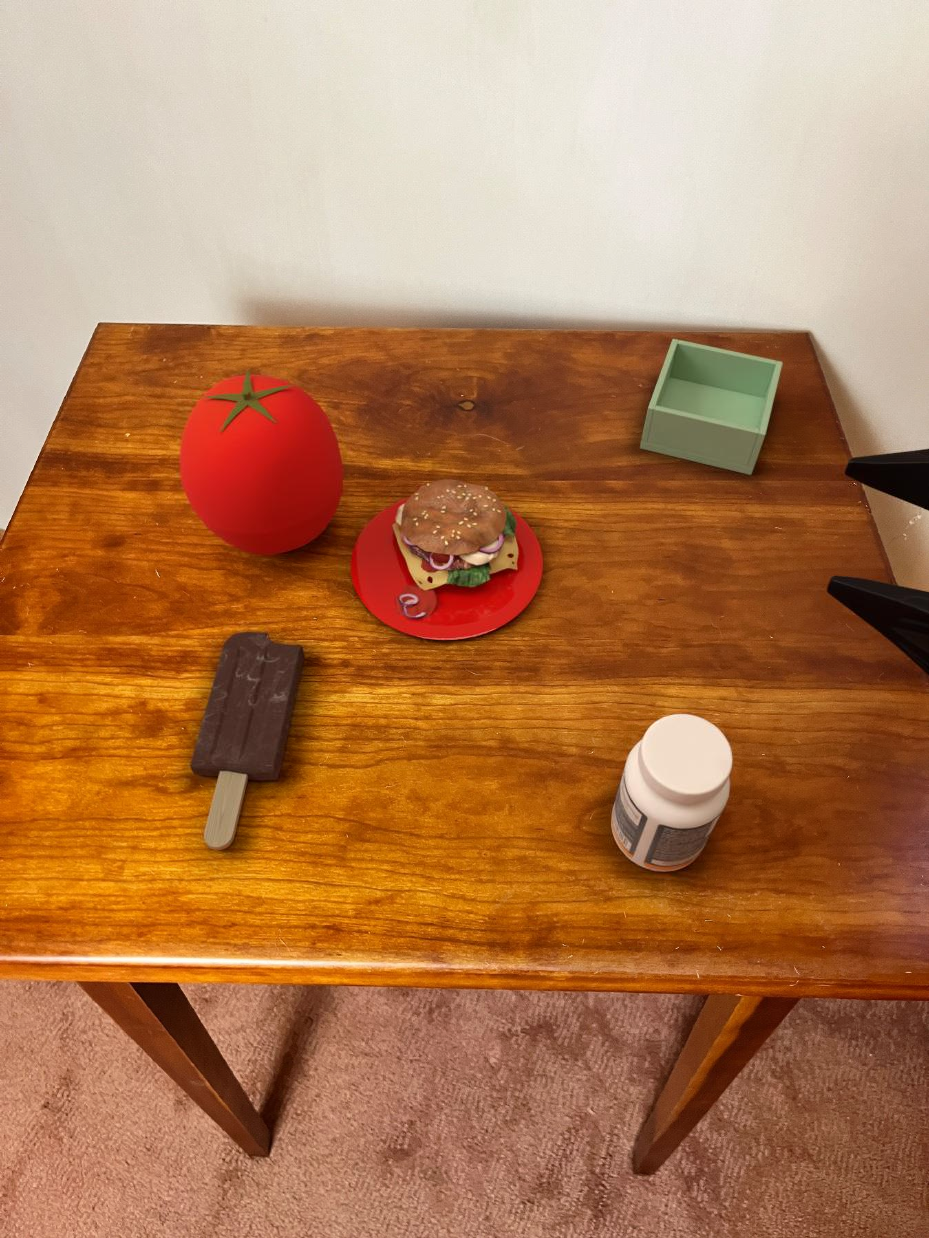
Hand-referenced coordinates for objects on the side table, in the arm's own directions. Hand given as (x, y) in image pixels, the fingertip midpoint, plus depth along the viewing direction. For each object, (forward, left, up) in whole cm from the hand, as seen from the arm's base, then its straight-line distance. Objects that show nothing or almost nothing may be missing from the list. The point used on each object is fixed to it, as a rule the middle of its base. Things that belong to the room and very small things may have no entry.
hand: (838, 521), depth 51 cm
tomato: (+37, +1, -14) cm, 39 cm away
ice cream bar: (+31, +18, -14) cm, 38 cm away
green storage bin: (+9, -21, -14) cm, 27 cm away
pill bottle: (+5, +15, -14) cm, 21 cm away
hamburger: (+24, 0, -14) cm, 27 cm away
